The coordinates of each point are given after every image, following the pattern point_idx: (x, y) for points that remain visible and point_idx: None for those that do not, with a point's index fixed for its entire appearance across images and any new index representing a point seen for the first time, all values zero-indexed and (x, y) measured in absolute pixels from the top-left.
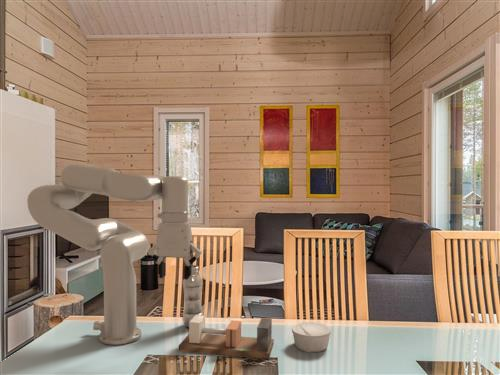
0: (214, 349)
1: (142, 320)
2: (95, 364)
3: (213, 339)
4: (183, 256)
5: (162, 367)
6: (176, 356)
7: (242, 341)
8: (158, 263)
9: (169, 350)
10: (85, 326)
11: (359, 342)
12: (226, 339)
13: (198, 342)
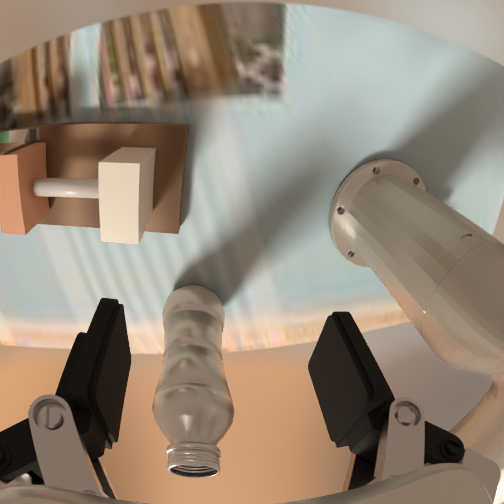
0: (74, 124)
1: None
2: (397, 50)
3: None
4: (36, 500)
5: (213, 18)
6: (186, 87)
7: None
8: (402, 407)
9: (219, 126)
10: None
11: None
12: (33, 146)
13: (123, 147)
